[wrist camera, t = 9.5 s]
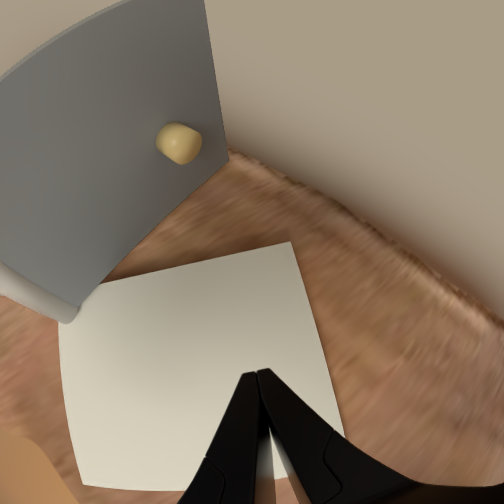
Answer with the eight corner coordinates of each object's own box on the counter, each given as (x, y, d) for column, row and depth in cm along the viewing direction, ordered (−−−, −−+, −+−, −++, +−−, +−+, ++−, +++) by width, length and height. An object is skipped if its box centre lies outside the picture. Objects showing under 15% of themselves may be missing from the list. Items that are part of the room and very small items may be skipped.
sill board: (345, 454, 13) (349, 458, 13) (90, 481, 13) (83, 484, 12) (289, 248, 20) (290, 241, 19) (66, 297, 19) (58, 293, 18)
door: (245, 170, 21) (224, -23, 8) (73, 343, 16) (-112, 246, 3) (214, 152, 22) (180, -22, 9) (52, 309, 17) (-103, 203, 4)
